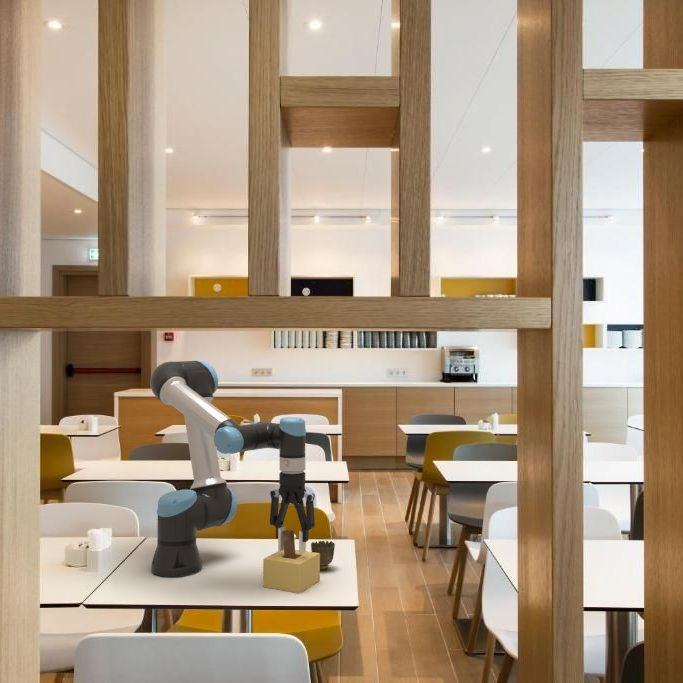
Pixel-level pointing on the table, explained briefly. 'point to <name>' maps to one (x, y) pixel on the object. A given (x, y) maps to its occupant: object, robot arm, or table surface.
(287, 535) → the walnut peg
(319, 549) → the cup
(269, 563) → the hole block
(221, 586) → the table surface
